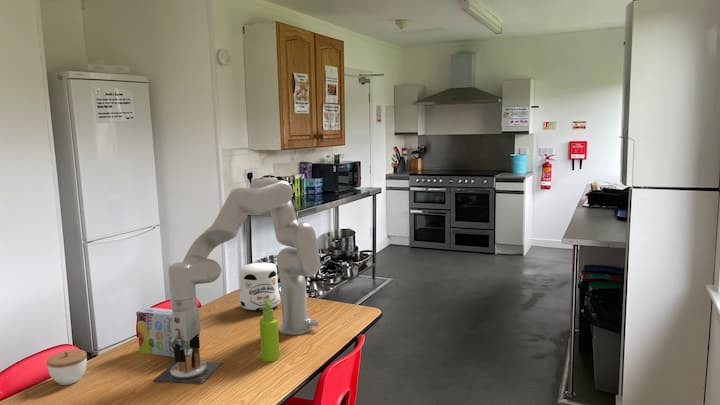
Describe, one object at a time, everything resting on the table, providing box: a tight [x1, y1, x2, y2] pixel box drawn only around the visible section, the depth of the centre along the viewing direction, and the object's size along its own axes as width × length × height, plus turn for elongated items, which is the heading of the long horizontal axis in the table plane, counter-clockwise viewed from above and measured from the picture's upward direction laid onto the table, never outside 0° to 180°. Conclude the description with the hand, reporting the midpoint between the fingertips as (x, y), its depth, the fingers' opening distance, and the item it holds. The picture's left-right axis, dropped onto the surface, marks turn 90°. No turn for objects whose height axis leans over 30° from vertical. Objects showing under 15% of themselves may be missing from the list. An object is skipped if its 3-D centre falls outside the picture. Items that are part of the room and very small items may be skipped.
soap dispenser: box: [259, 299, 280, 363], centre depth 172 cm, size 6×7×20 cm
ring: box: [177, 347, 201, 372], centre depth 164 cm, size 7×7×5 cm
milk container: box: [238, 262, 281, 312], centre depth 223 cm, size 17×17×18 cm
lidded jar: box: [46, 349, 88, 386], centre depth 161 cm, size 11×11×9 cm
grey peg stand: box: [153, 347, 223, 385], centre depth 164 cm, size 16×14×8 cm
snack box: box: [136, 306, 190, 358], centre depth 179 cm, size 21×6×15 cm, turn 71°
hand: (187, 354), depth 164 cm, fingers open, 9 cm apart
